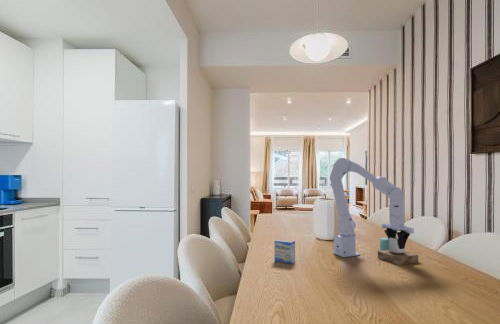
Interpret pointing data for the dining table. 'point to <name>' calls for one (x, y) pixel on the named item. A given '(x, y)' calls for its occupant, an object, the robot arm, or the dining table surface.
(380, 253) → the walnut bore block
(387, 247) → the round bit
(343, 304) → the dining table surface
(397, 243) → the square bit
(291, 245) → the medicine box
